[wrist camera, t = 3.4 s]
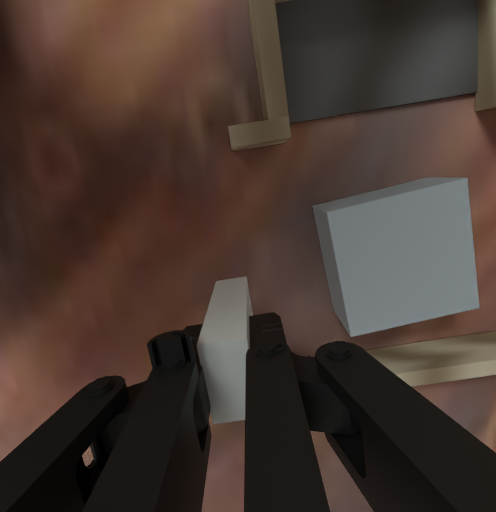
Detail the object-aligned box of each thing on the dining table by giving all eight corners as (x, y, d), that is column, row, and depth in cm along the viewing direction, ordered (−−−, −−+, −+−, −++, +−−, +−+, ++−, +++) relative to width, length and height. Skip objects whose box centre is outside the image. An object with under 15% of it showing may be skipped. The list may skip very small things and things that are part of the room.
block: (332, 309, 22) (350, 337, 18) (311, 205, 21) (326, 212, 17) (438, 284, 22) (479, 307, 18) (425, 177, 20) (467, 177, 17)
